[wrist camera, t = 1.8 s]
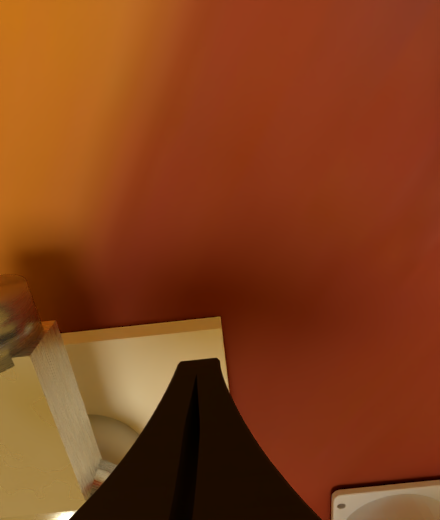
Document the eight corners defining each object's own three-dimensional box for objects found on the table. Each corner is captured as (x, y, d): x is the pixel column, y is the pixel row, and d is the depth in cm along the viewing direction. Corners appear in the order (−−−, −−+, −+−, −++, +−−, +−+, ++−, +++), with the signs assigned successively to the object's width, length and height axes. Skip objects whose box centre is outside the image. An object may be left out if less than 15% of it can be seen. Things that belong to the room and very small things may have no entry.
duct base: (243, 505, 22) (248, 568, 19) (-23, 532, 22) (-59, 598, 19) (220, 316, 17) (223, 361, 14) (-130, 353, 17) (-203, 405, 14)
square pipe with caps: (163, 528, 18) (155, 609, 15) (33, 541, 18) (-1, 624, 15) (94, 264, 12) (58, 312, 9) (-97, 285, 12) (-191, 338, 9)
